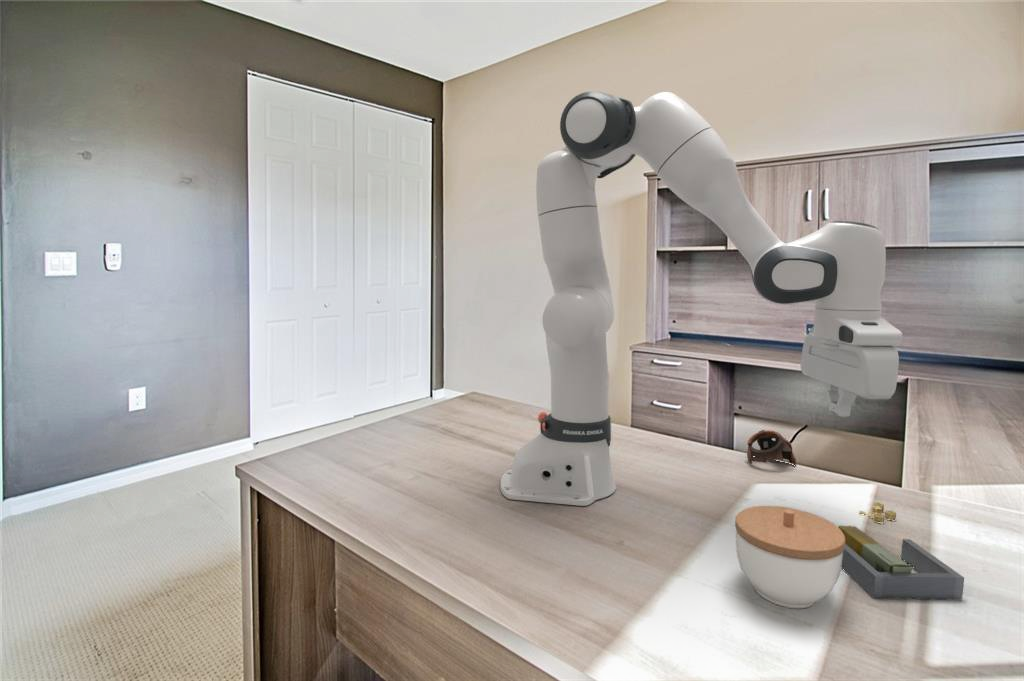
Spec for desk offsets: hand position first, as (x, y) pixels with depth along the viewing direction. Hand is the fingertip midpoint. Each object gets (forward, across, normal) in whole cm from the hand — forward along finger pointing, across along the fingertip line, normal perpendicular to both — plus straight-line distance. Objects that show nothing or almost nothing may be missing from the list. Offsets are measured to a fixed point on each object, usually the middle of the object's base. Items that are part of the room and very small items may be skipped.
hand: (839, 414), depth 86 cm
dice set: (+20, -4, +11) cm, 23 cm away
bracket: (+19, +14, +1) cm, 24 cm away
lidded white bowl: (+19, +18, -16) cm, 31 cm away
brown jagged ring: (+20, -31, +4) cm, 37 cm away
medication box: (+20, +12, -1) cm, 23 cm away
